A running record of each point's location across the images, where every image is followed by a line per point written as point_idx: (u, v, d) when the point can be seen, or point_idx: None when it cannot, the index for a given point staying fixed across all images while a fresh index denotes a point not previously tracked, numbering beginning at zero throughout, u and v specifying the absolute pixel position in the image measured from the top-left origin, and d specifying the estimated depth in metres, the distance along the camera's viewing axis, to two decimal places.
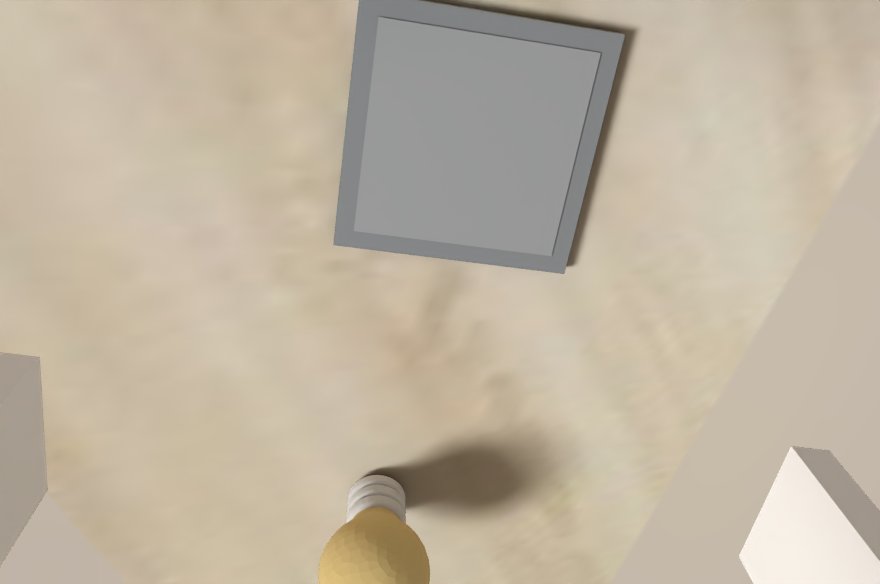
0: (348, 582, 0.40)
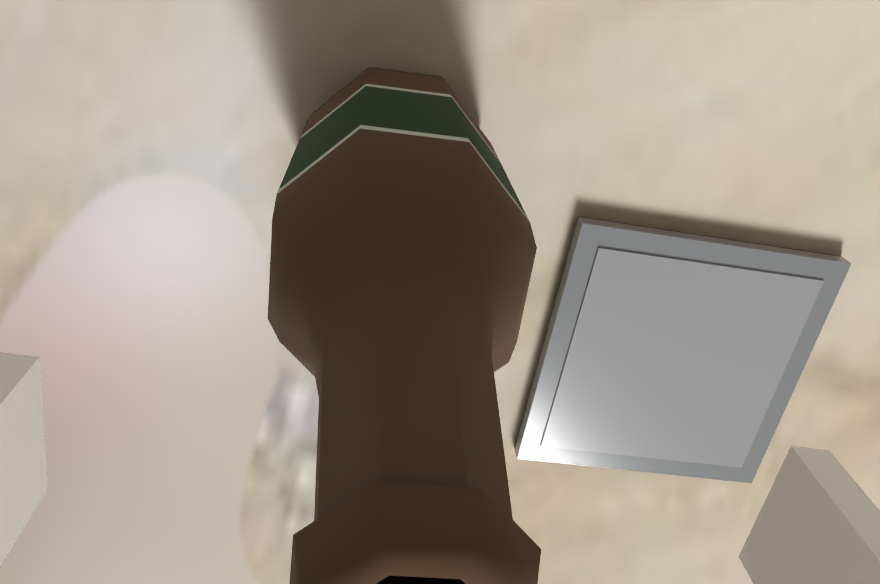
0: None
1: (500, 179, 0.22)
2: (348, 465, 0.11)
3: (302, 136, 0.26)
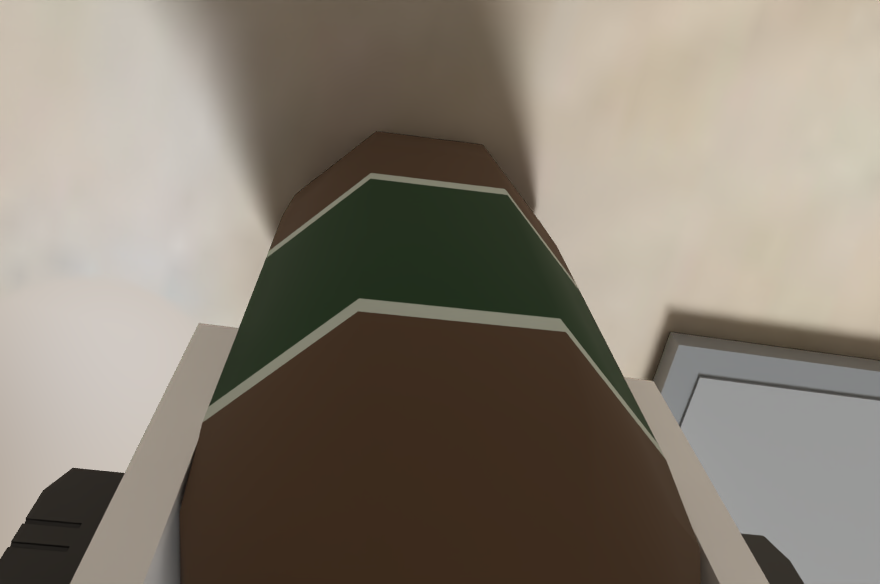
0: None
1: (609, 375, 0.12)
2: None
3: (270, 253, 0.16)
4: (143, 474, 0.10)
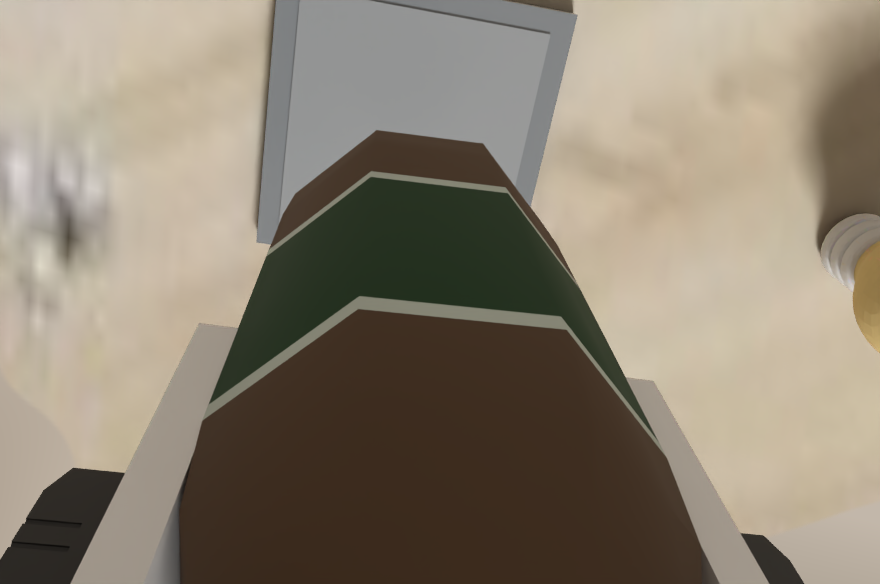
0: None
1: (610, 373, 0.12)
2: None
3: (270, 252, 0.16)
4: (143, 474, 0.10)
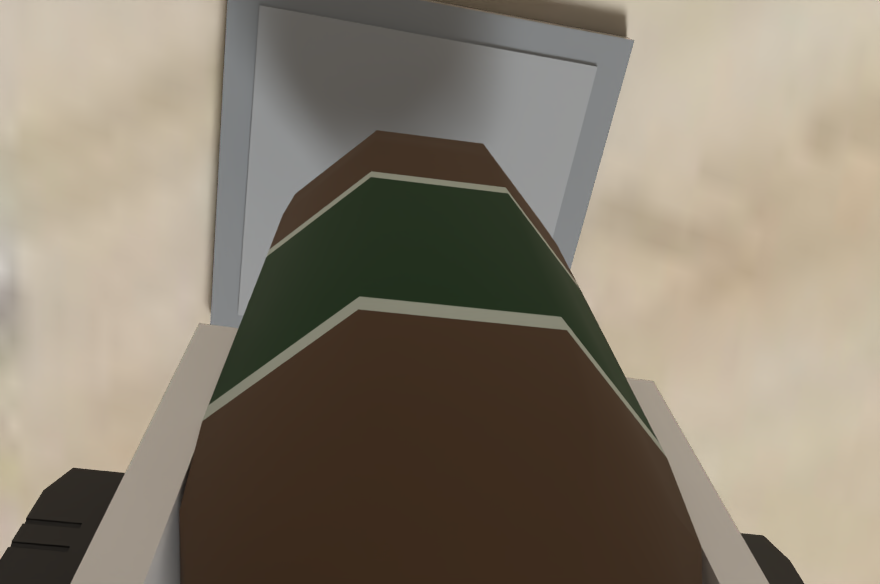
0: None
1: (611, 373, 0.12)
2: None
3: (270, 252, 0.16)
4: (144, 474, 0.10)
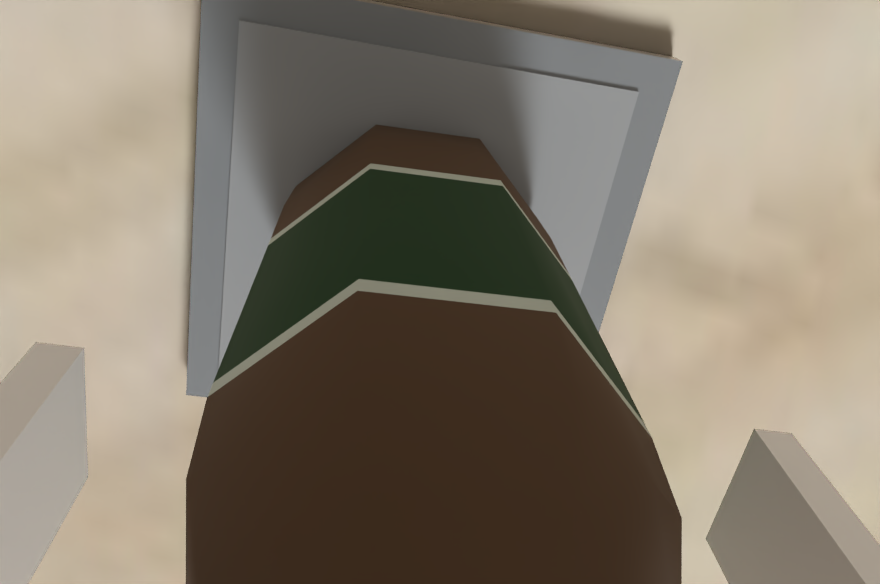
0: None
1: (598, 357, 0.13)
2: None
3: (271, 241, 0.17)
4: None
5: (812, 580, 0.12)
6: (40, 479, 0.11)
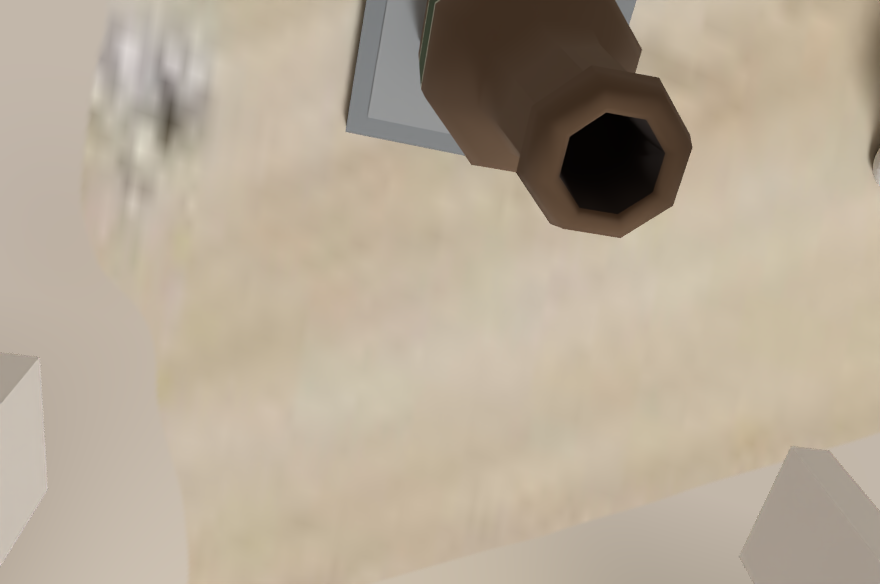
0: None
1: None
2: (555, 87, 0.17)
3: None
4: None
5: None
6: None
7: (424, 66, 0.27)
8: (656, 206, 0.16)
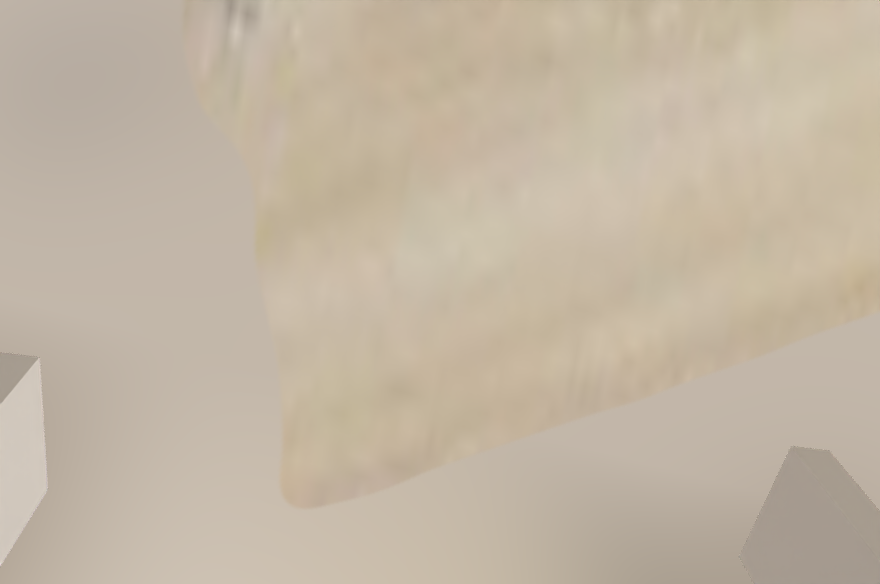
0: None
1: None
2: None
3: None
4: None
5: None
6: None
7: None
8: None
